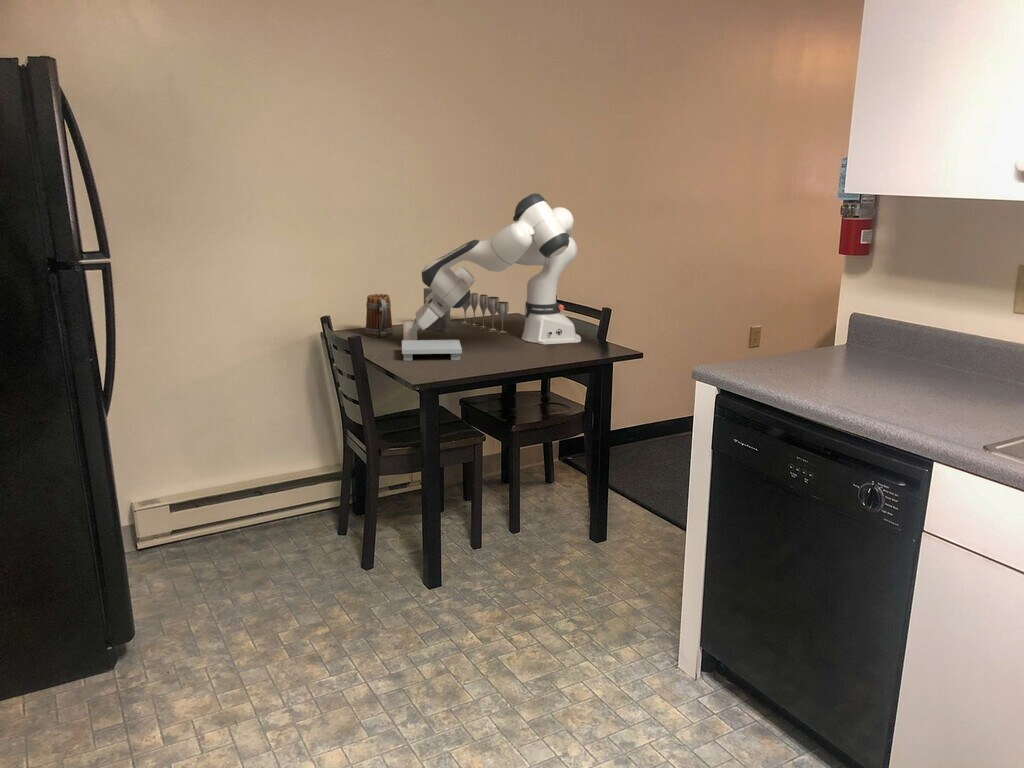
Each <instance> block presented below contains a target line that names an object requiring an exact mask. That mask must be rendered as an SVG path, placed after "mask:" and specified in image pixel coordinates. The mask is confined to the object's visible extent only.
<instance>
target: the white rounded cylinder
mask: <svg viewBox="0 0 1024 768" xmlns="http://www.w3.org/2000/svg"><path fill="white" fill-rule="evenodd" d="M415 324H416V320H414V319H404V320H403V321H402V327H403V328H402V329H403V330H402V333H403V334H402V335H403V336H402V338H403V339H402V340H418V330H417V331H415V332H414V333H413V334H410V333H409V329H410V328H411V327H413V326H414V325H415Z"/></svg>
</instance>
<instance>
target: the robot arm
mask: <svg viewBox="0 0 1024 768" xmlns="http://www.w3.org/2000/svg"><path fill="white" fill-rule="evenodd" d="M512 220H513V223H511V224H509V225H507V226H505V227H504V228H502V229H501V230H499V231H498V232H497V233H495V234H493V236H492V237H491V238H488V239H486V240H478V239H472V240H470V241H468V242H466V243H463V244H462V245H461V246H458V247H457V248H455V249H453V250H451V251H450V252H448V253H446V254H445V255H443V256H440V257H438V258H436V259H434V260H433V261H430V262H429V263H428V264H426V265H425V266H424V267H423V269H422V271H421V281H422V283H423V284H424V285H425V286H426V287H427V288H431V289H432V290H433V291H432V292H431V293H430V294H429V295H428V296H427V297H426V298H425V300H426V301H427V302H426V303H425V304H424V303H423V305H421V307H420V308H418V310H417V311H416V312H415V318H414V319H413V320H416V324H415V325H414V326H413V327H411V328H410V329H409V333H410V334H413V333H414V332H415V331H417V332H418V330H420V329H421V331H424V330H426V328H428V327H429V326H430V325H431V324H432V323H433V322H435V321H436V320H437V319H438V318H439V317H442V316H443V315H444V314H445V313H446V312H447V311H448V310H449V309H450V310H451V308H452V309H461V308H462V307H461V306H462V305H463V304H464V303H465V302H466V301H467V300H469V299H470V294H471V290H470V288H471V287H472V286H473V284H474V282H475V277H474V276H473V274H471V272H469V270H467V269H466V268H465V267H464V266H459V267H457V268H455V269H454V270H452V269H451V267H453V266H455V265H457V264H458V263H460V262H462V261H468V262H471V263H473V264H476V265H477V266H479V267H481V268H483V269H485V270H487V271H491V272H503V271H504V270H506V269H508V268H509V267H510V266H512V265H514V264H515V265H520V266H543V267H542V268H541V270H540V271H539V273H537V274H535V275H532V277H530V278H529V279H528V281H527V284H526V301H525V304H524V316H525V321H524V326H523V332H522V335H521V340H523V341H525V342H530V343H536V344H540V345H557V344H558V345H561V344H577V343H580V342H581V341H582V337H581V336H580V334H577V333H576V327H575V325H574V323H573V321H572V320H571V319H569V318H568V317H567V316H566V315H564V313H562V311H564V309H565V307H564V304H563V305H562V304H560V303H558V302H557V292H558V283H559V279H560V277H561V275H562V273H563V272H564V271H565V269H566V268H567V267H568V266H569V265H570V264H572V263H573V262H574V261H575V259H576V257H577V256H578V245H577V242H576V241H575V240H574V238H573V237H570V236H571V235H572V232H573V229H574V222H575V219H574V216H573V214H572V213H571V211H570V210H569V209H567V208H565V207H561V206H558V207H553V208H551V206H550V205H549V204H548V203H547V200H546V199H545V197H543V196H542V195H541V194H540V193H531V194H528V195H526V196H524V197H523V198H521V200H520V201H519V202H517V204H516V206H515V209H514V216H513V218H512Z"/></svg>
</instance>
